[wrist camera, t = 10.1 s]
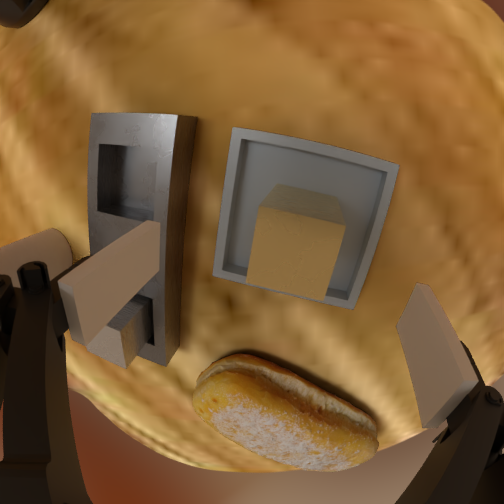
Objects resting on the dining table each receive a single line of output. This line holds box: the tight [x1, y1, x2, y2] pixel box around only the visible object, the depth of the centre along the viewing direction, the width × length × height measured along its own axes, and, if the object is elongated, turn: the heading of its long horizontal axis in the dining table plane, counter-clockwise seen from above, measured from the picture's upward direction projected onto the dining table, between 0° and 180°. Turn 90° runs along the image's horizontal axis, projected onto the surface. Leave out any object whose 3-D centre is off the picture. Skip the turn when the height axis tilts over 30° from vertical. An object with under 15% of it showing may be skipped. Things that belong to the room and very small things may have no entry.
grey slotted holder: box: [88, 113, 198, 367], centre depth 27 cm, size 26×9×4 cm, turn 171°
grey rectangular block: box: [86, 293, 154, 369], centre depth 28 cm, size 5×5×8 cm
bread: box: [192, 354, 379, 472], centre depth 31 cm, size 13×26×8 cm, turn 59°
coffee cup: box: [0, 228, 73, 288], centre depth 26 cm, size 10×10×15 cm
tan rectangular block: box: [246, 183, 346, 301], centre depth 21 cm, size 5×5×8 cm
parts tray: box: [212, 127, 399, 310], centre depth 24 cm, size 13×13×2 cm
